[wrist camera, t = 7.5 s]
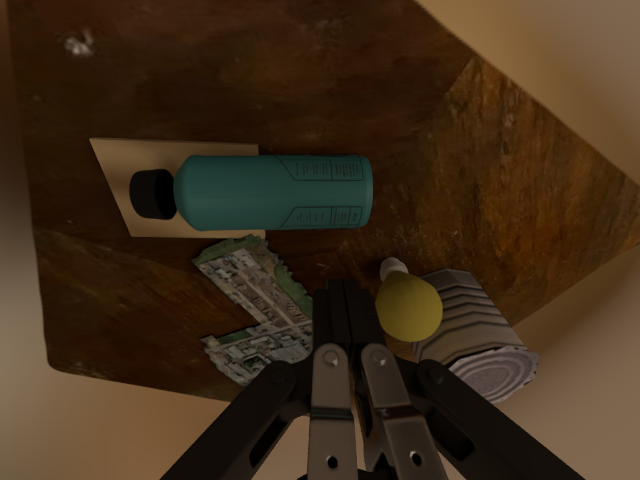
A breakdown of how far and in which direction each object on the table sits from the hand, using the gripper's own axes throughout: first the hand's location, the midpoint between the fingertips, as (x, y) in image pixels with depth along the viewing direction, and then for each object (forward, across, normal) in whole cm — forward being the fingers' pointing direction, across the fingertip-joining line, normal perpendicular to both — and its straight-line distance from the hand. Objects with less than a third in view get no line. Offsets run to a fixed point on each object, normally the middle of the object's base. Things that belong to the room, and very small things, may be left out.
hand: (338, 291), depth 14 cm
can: (+15, -17, +17) cm, 28 cm away
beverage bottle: (+12, -5, 0) cm, 13 cm away
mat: (+15, +13, +2) cm, 20 cm away
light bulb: (+15, -9, +11) cm, 21 cm away
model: (+15, +8, +23) cm, 29 cm away
